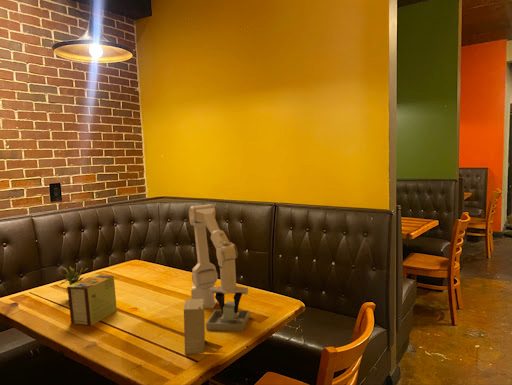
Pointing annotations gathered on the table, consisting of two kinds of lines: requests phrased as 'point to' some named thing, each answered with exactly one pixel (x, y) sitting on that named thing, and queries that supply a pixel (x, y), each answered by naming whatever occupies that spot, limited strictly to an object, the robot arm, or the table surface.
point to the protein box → (92, 299)
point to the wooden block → (231, 321)
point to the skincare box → (194, 326)
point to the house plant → (72, 276)
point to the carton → (229, 310)
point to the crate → (216, 324)
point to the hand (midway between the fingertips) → (229, 311)
